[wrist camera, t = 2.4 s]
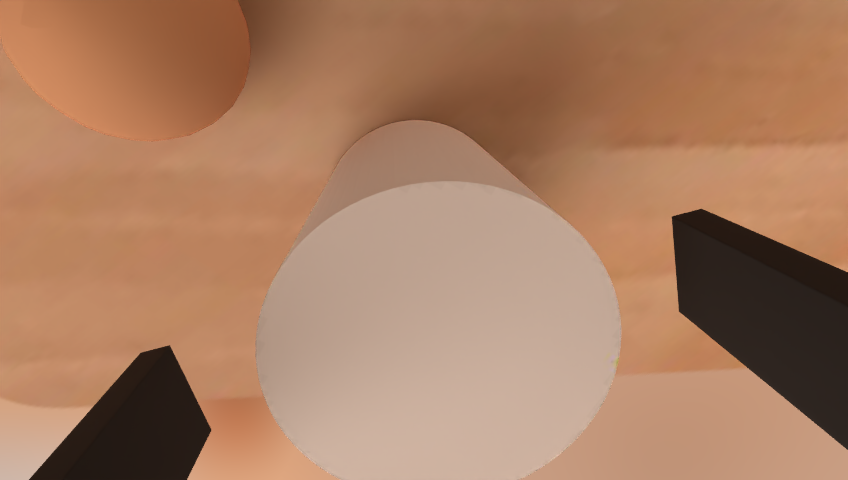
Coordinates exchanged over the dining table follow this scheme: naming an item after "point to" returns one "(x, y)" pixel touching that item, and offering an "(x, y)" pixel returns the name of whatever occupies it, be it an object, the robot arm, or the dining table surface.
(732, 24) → the dining table surface
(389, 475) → the white cylinder
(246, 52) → the egg
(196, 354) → the dining table surface
